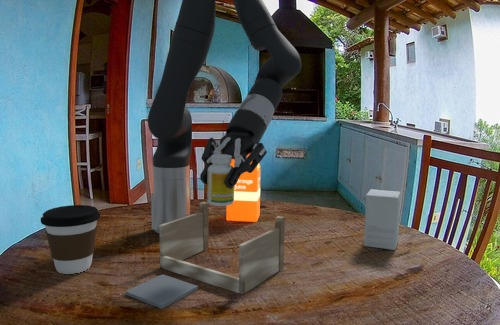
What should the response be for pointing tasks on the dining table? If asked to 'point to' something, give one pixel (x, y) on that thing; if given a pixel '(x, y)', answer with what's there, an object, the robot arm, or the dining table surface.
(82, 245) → the coffee cup
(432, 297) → the dining table surface
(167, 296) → the mat
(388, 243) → the supplement box
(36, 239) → the dining table surface
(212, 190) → the supplement bottle
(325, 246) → the dining table surface
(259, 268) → the grey open box frame
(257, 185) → the orange juice
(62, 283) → the dining table surface
